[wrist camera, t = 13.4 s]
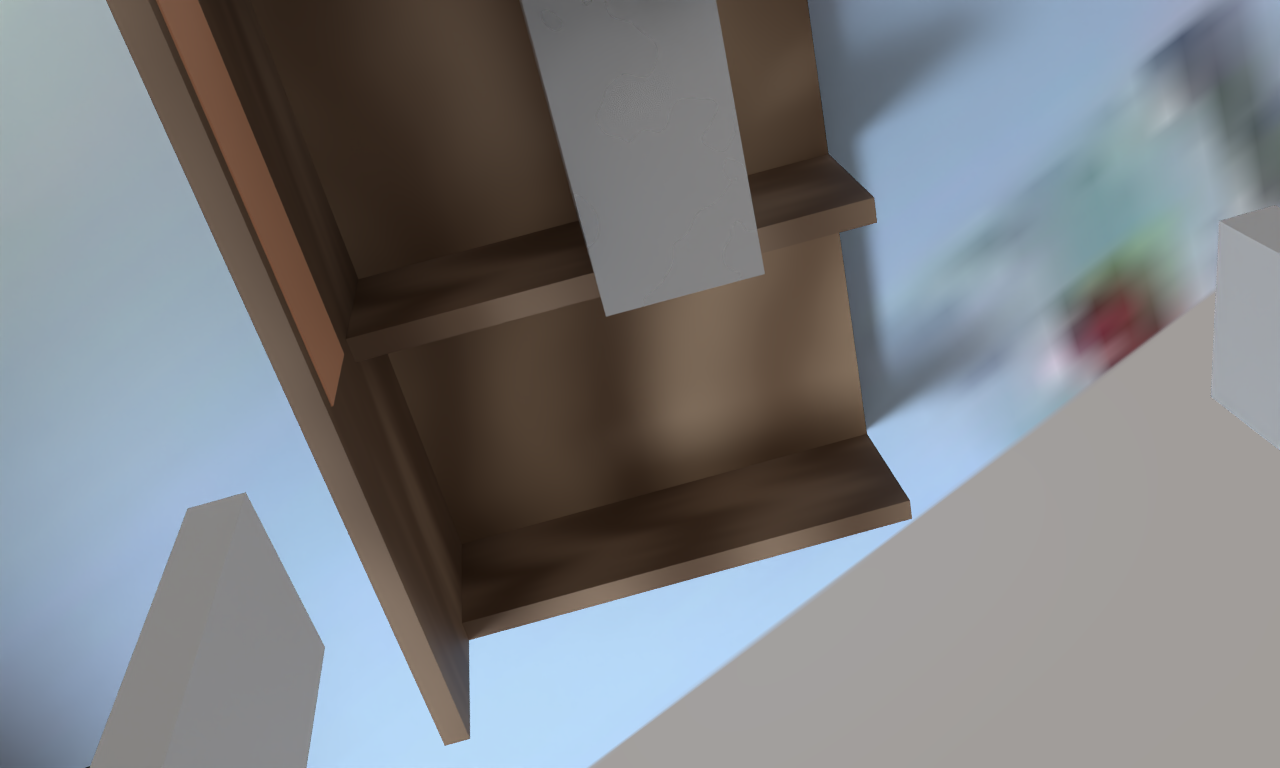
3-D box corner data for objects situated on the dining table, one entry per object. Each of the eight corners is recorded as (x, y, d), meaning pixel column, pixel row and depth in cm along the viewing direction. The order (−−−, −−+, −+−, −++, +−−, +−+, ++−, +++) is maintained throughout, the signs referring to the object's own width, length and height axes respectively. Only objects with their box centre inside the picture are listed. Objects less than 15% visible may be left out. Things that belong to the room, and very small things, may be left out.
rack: (446, 550, 42) (443, 746, 33) (194, -82, 30) (87, -35, 22) (860, 437, 42) (964, 602, 34) (766, -231, 31) (887, -242, 22)
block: (569, 187, 35) (606, 316, 26) (499, -73, 31) (515, -24, 22) (688, 155, 35) (764, 273, 26) (634, -108, 31) (702, -72, 22)
